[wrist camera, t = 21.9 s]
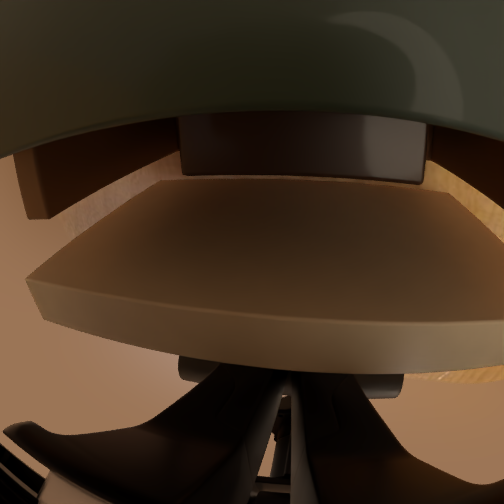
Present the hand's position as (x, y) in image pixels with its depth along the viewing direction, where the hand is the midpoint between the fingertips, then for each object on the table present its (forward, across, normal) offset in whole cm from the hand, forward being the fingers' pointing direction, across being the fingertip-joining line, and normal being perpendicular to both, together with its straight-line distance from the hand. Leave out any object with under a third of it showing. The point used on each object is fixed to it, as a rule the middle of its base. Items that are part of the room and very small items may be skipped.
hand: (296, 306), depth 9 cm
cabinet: (+4, 0, -13) cm, 14 cm away
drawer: (+3, 0, -6) cm, 7 cm away
